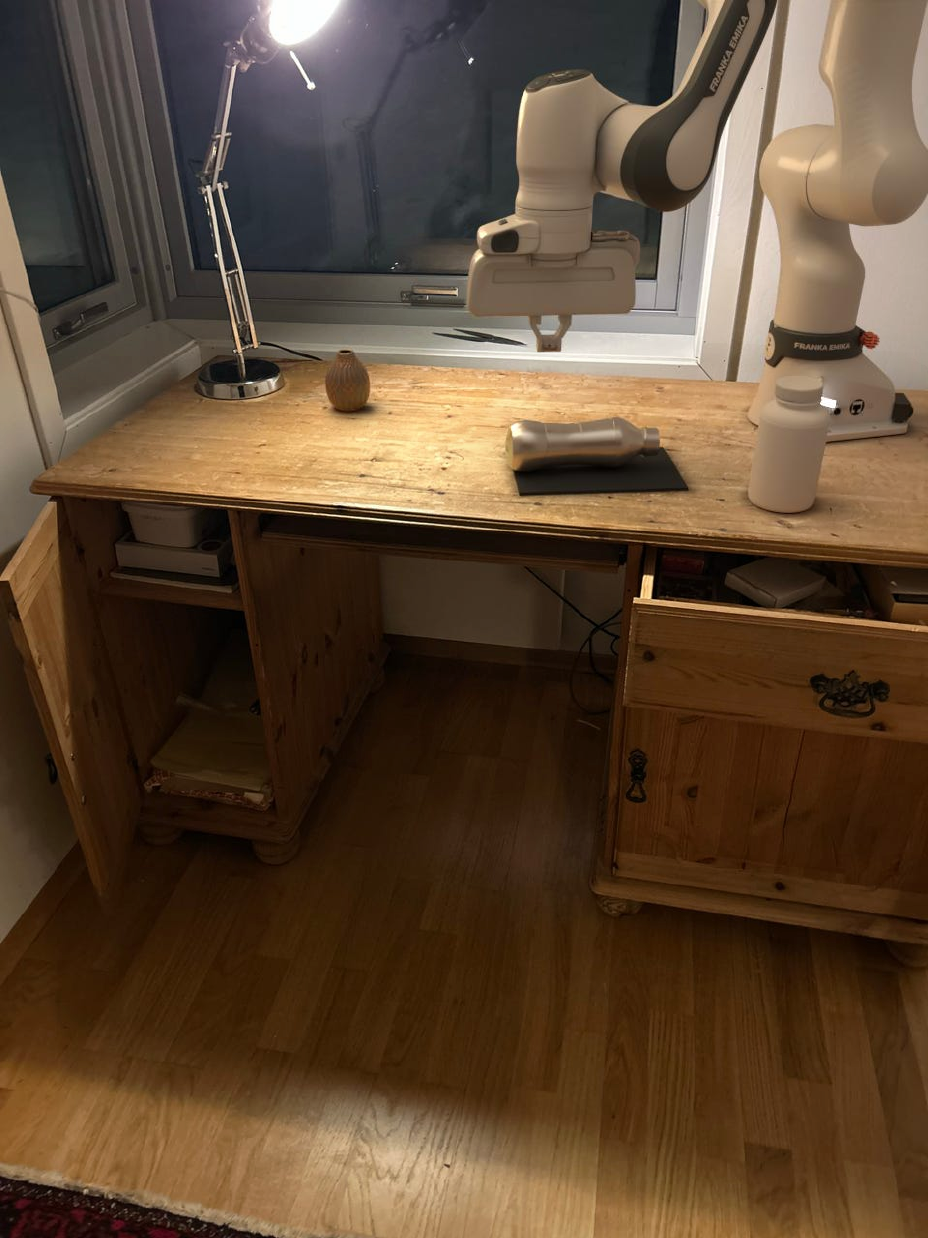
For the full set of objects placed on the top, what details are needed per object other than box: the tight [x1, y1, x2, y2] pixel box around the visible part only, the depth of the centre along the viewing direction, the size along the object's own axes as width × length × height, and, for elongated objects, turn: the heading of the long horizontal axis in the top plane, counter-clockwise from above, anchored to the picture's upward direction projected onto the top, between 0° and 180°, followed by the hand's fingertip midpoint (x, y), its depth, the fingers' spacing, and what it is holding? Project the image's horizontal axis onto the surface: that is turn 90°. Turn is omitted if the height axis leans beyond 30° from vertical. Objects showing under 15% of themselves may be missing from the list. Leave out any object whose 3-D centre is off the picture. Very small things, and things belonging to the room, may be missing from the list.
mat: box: [512, 446, 689, 496], centre depth 127 cm, size 22×14×1 cm, turn 93°
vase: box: [324, 348, 371, 412], centre depth 147 cm, size 7×7×9 cm
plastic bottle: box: [504, 416, 661, 472], centre depth 125 cm, size 6×7×20 cm
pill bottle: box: [747, 376, 830, 514], centre depth 114 cm, size 8×8×15 cm
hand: (548, 350), depth 118 cm, fingers closed
